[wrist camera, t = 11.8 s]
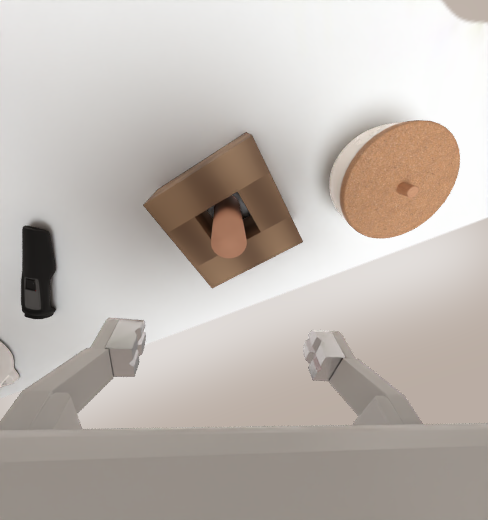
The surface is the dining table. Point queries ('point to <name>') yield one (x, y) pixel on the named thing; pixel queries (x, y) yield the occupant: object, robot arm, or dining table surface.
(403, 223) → the lidded jar
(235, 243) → the peg
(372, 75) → the dining table surface
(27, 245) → the electric trimmer
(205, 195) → the socket block
